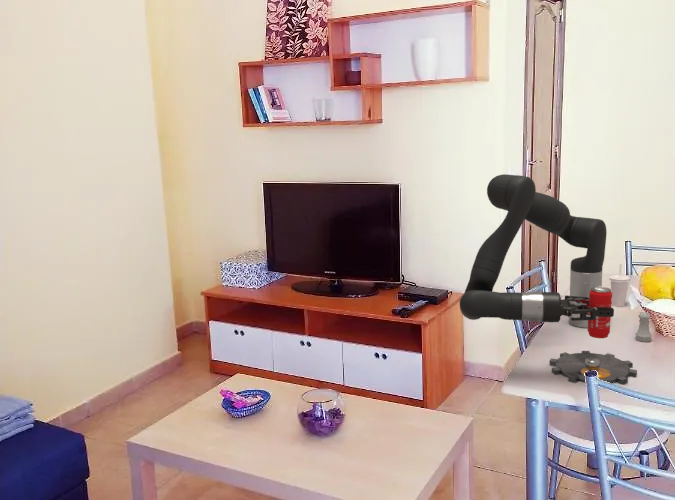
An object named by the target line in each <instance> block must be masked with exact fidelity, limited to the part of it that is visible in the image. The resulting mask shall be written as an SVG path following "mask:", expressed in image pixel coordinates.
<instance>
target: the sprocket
mask: <svg viewBox="0 0 675 500" xmlns="http://www.w3.org/2000/svg"><path fill="white" fill-rule="evenodd" d="M548 363H549V366H553V367H551V373H552V374H553V375H554V376H558V375H561V376H563V377H565V378H567V382H570V383H573V384H577V383H579V382H581V383H585V376H584V373H585V371H587V370H596V371H597V372H598V378H599V379H600V380H603V381H607V382H610V383H609V384H614V383H616V384H619V385H625V384H628V383H629V377H631V378H637V376H638V375H637V374H638V370H637V369H632V368H634V367H633V366H634V365H633V364H634V363H633V362H632V361H631V360H621V359H619V358H617V357H616V356H615V354H612V353H609V352H607V353H606V354H602V353H594V352H591V350H581V352H575V353H567V352H566V351H565V352H561V353H559V357H558V358H550V360H549V362H548ZM636 375H637V376H636ZM613 382H614V383H613Z"/></svg>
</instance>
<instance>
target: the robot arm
mask: <svg viewBox="0 0 675 500" xmlns="http://www.w3.org/2000/svg"><path fill="white" fill-rule="evenodd" d="M486 195H487V198H488V200H489V203H490V204H491V205H493V206H494V207H495V208H497V209H500V210H503V211H507V213H506V215H505V218H504V219H503V221H502V222H501V223H500V225H499V226H498V227H497V228H496V229H495V230H494V231H493V233H491V234H490V235H489V236H488V237H487V239H485V240H484V242H483V243H482V244H481V245H480V247H479V248H478V250H477V253H476V256H475V259H474V262H473V265H472V267H471V271H470V276H469V280H468V283H467V285H466V287H465V290H464V293H463V294H462V295H461V296H460V300H459V309H460V312H461V314H462V316H463V317H464V318H466V319H468V320H471V321H476V320H479V319H481V318H490V319H491V318H493V319H495V318H496V319H497V318H498V319H502V320H508V321H526V322H533V323H535V322H537V323H559V322H560V321H561V317H562V316H565V317H568V323H569V324H570V325H571V326H575V327H578V328H586V329H588V320H596V318H597V316H598V317H611V318H613V317H614V315H615V309H614V307H612V306H611V307H592V306H589V295H590V291H591V288H592V287H603V268H604V267H603V265H604V262H605V256H606V244H607V225H606V223H605V221H604V220H603V219H599V218H593V217H592V218H591V217H582V216H574V215H572V214H571V213H570V212H571V211H570V209H569V207H568V206H567V205H566V204H565V203H564V202H563V201H561V200H560V199H557V198H555V197H553V196H552V195H548V194H545V193H543V192H542V193H541V192H537V191H536V184H535V182H534V180H533V179H532V178H531V177H529V176H527V175H520V174H519V175H518V174H517V175H516V174H506V173H505V174H499V175H496V176H494V177H493V178H491V180H490V181H489V182H488V184H487V188H486ZM524 221H526V222H529V223H531V224H533V225H534V226H536V227H538V228H540V229H542V230H544V231H546V232H548V233H551V234H553V235H556V236H558V237H559V238H560V239H562V240H563V241H564V242H566V243H567V244H568V245H570V246H572V247H574V248H582V249H586V255H584V256H581V257H577V258H572V260H571V261H570V267H569V269H570V271H569V273H570V277H569V281H570V282H569V295H568V294H567V295H564V298H563V299H562V298H561V293H559V292H558V291H557V292H554V291H553V292H552V291H551V292H550V291H527V292H525V291H524V292H515V291H514V292H513V291H511V292H509V291H508V292H507V291H506V292H498V291H494V287H495V285H496V283H497V281H498V279H499V276H500V274H501V270H502V269H503V264H504V261H505V259H506V256H507V254H508V251H509V249H510V247H511V246H512V243H513V241H514V240H515V238H516V237H517V234H518V233H519V230H520V229H521V227H522V225H523V223H524ZM589 312H591V314H589Z"/></svg>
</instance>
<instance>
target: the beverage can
mask: <svg viewBox="0 0 675 500" xmlns="http://www.w3.org/2000/svg"><path fill="white" fill-rule="evenodd" d="M612 305H613V303H612V292H611V288H609V287H605V286H602V287H592V288H591V291H590V295H589V306H592V307H611V308H612ZM589 314H591V312H589ZM611 318H612V317H598V316H597V318H596V320H588V328H587V333H588V335H589V336H590V337H591V338H594V339H607V338H608V336H609V334H610V333H611Z"/></svg>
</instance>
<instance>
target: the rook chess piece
mask: <svg viewBox="0 0 675 500" xmlns="http://www.w3.org/2000/svg"><path fill="white" fill-rule="evenodd" d="M638 318H639V320H638V322H639V325H638V330H637V331H636V332H635V337H634V338H635V340H636V341H638V342H641V343H649V342H651V341H652V340H653V339H652V335H653V334H652V333H651V331H650V319H651V315H650V313H649V312H647V311H645V312H644V311H641V312H639V314H638Z"/></svg>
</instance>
